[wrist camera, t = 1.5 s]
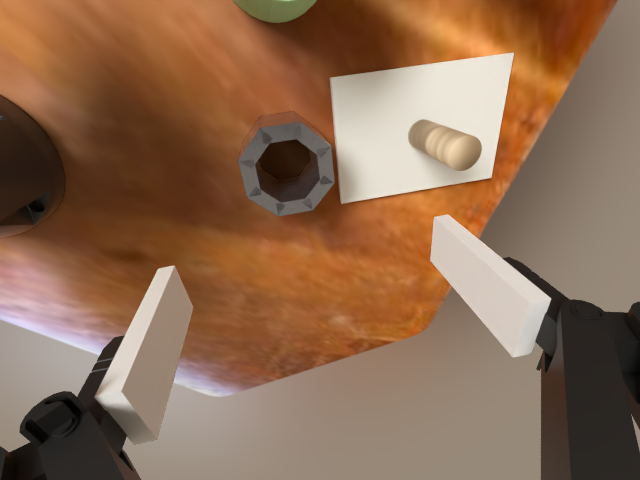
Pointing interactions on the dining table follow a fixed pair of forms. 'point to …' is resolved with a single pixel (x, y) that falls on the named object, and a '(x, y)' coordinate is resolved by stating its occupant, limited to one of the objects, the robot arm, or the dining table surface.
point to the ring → (288, 191)
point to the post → (445, 144)
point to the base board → (403, 111)
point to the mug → (275, 9)
